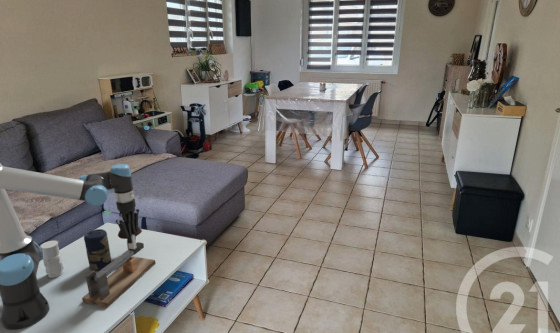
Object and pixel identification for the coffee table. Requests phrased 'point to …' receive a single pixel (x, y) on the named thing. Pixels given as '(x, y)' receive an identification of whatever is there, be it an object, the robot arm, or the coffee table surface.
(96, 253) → the canister
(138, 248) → the lever
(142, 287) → the coffee table surface
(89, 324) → the coffee table surface
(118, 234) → the decorative mushroom
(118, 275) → the base
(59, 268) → the white ribbed cylinder
